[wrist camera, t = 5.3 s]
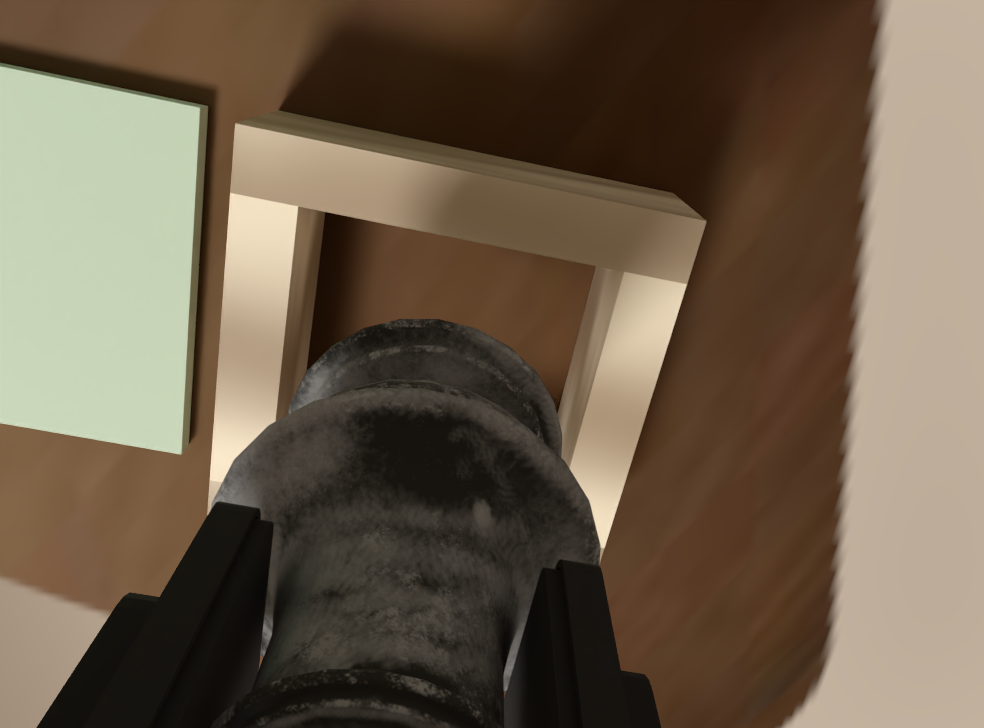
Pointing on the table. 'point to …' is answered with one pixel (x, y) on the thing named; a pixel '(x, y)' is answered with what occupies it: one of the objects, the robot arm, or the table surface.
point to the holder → (459, 214)
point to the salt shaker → (405, 531)
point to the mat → (98, 258)
